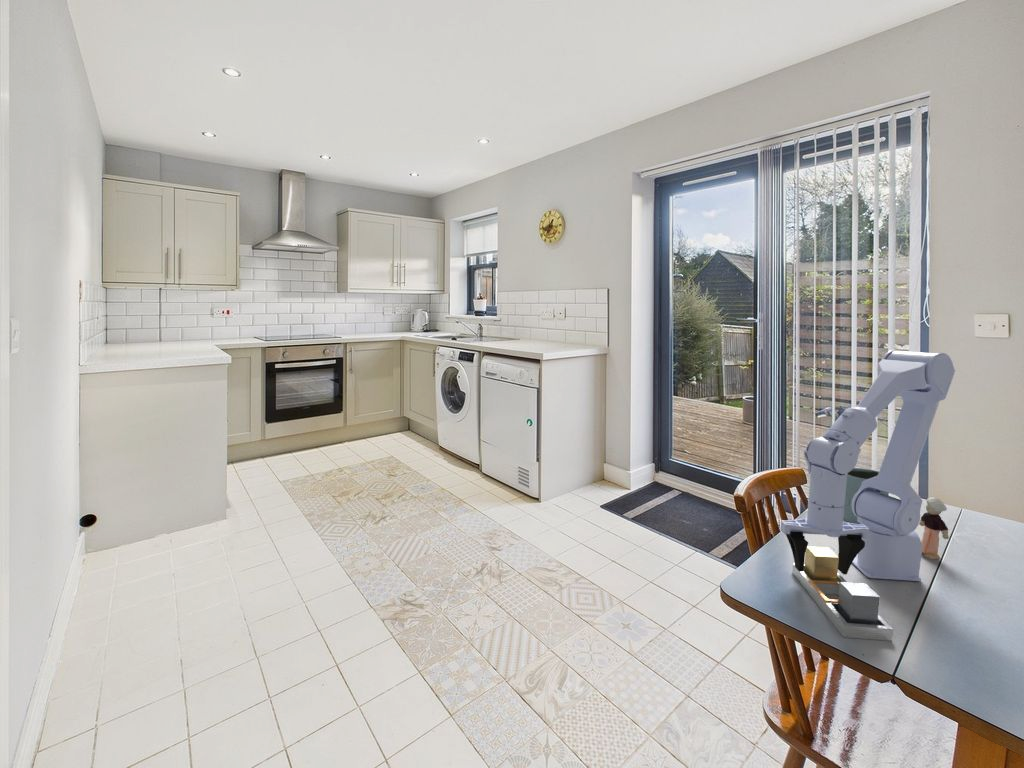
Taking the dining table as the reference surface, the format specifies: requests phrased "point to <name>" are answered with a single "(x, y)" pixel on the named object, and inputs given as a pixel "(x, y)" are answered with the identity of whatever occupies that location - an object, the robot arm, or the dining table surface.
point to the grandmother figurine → (933, 528)
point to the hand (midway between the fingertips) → (820, 570)
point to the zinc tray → (830, 609)
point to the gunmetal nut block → (858, 603)
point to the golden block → (821, 564)
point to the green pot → (855, 490)
